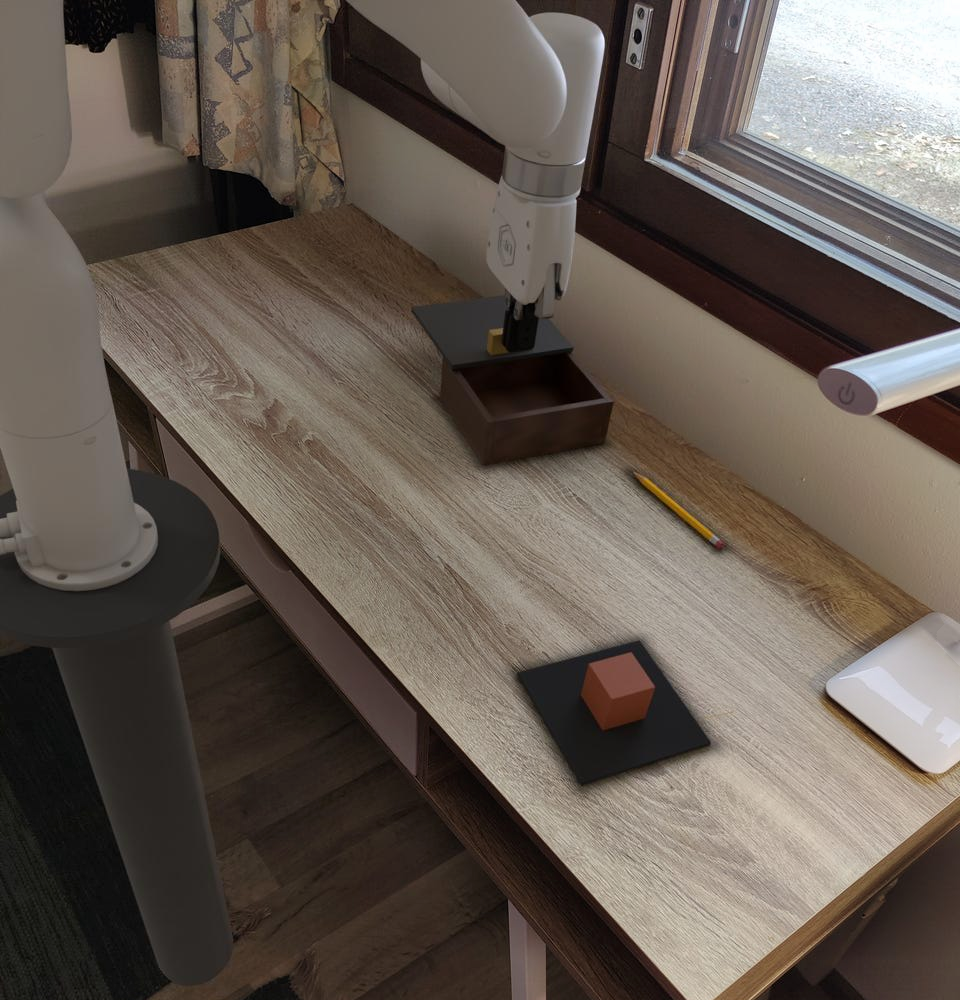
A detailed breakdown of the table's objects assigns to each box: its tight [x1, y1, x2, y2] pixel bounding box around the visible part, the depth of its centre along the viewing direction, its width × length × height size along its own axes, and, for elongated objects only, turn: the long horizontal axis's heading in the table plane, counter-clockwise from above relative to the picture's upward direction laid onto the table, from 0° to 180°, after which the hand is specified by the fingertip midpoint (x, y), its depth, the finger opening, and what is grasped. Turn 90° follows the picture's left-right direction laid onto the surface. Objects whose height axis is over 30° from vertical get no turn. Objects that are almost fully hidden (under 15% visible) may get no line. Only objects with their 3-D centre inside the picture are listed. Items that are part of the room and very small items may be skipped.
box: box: [439, 352, 615, 466], centre depth 108 cm, size 15×13×5 cm
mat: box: [516, 640, 712, 786], centre depth 82 cm, size 12×12×1 cm
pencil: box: [633, 471, 725, 550], centre depth 101 cm, size 1×13×1 cm, turn 35°
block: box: [581, 652, 655, 730], centre depth 81 cm, size 4×4×4 cm
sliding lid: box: [410, 294, 574, 370], centre depth 111 cm, size 15×13×3 cm
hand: (517, 346), depth 105 cm, fingers closed
